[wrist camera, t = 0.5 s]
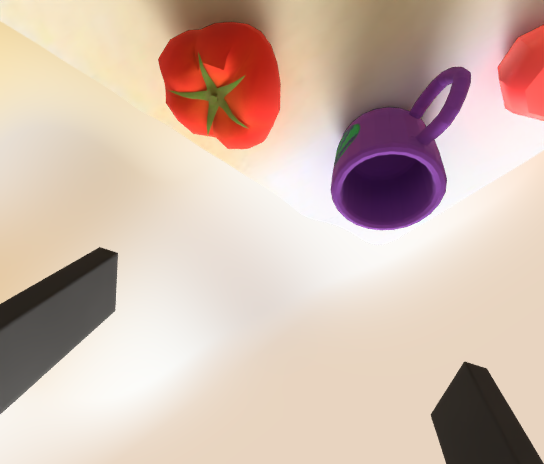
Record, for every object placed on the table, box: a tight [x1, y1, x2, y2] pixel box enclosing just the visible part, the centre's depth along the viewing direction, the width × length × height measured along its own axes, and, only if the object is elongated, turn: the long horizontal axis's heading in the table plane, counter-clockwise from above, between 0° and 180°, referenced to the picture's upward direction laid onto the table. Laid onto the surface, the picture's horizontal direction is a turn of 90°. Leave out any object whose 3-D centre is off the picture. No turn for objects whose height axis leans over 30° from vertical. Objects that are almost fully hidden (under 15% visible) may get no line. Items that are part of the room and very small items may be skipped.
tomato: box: [158, 22, 280, 149], centre depth 33 cm, size 14×13×9 cm
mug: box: [331, 67, 471, 230], centre depth 34 cm, size 17×11×10 cm, turn 158°
